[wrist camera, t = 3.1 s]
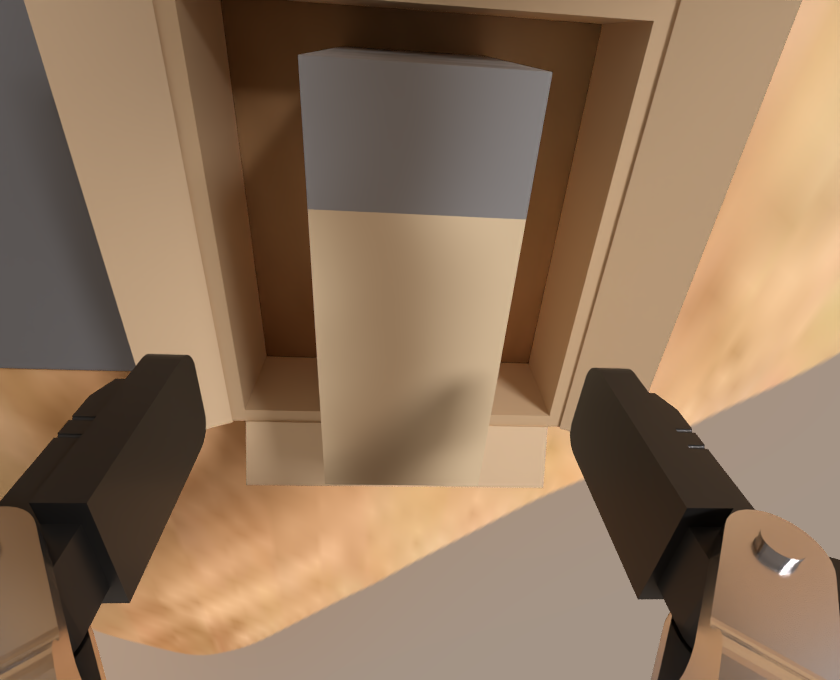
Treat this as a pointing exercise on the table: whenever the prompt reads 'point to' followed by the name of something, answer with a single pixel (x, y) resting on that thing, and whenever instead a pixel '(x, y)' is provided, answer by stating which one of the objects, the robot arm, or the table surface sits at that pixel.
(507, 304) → the beige and gray box
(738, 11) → the carton
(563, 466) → the table surface
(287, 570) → the table surface
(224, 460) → the table surface
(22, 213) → the mat
